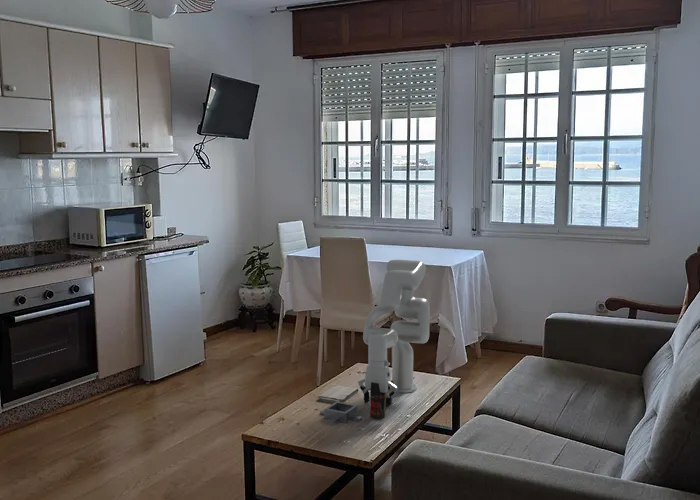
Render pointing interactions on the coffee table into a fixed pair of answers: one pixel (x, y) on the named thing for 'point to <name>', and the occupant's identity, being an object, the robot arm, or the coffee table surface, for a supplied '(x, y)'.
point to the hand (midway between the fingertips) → (377, 404)
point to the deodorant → (377, 402)
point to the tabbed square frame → (341, 413)
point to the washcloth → (338, 394)
